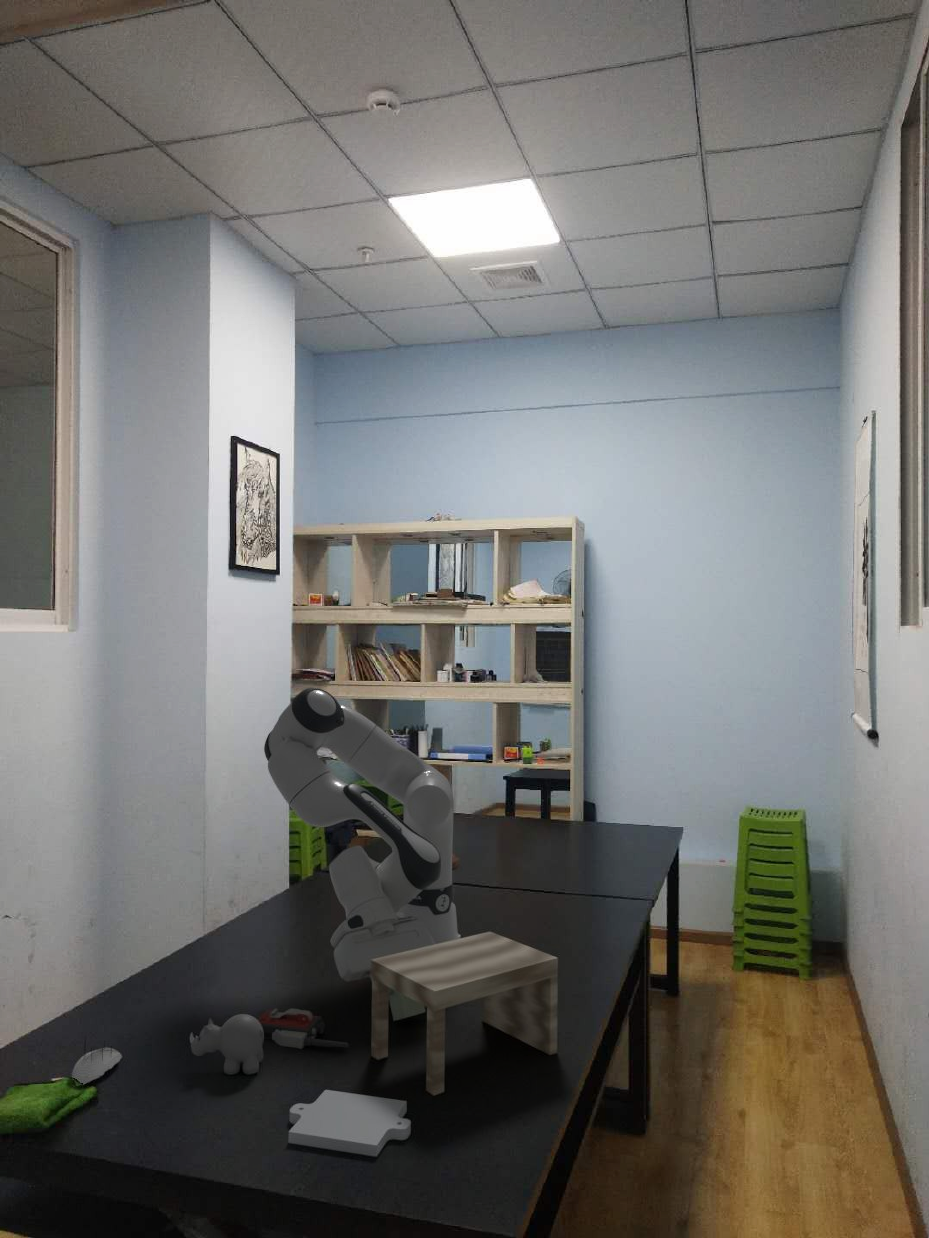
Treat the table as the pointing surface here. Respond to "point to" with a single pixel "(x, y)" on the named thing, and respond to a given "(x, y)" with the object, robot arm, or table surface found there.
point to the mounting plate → (349, 1122)
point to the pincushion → (95, 1063)
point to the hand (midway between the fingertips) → (402, 990)
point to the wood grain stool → (469, 992)
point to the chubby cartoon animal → (233, 1043)
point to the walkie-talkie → (294, 1028)
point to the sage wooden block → (404, 1006)
